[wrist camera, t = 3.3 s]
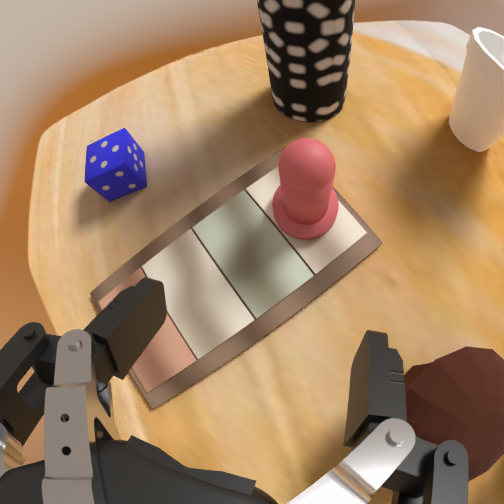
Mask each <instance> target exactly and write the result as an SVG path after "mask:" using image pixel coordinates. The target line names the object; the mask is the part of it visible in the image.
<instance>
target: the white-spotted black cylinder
mask: <svg viewBox="0 0 504 504" xmlns="http://www.w3.org/2000/svg"><path fill="white" fill-rule="evenodd" d="M257 3H258V9H259V15H260V21H261V26H262V32H263V38H264V45H265V51H266V57H267V64H268V70H269V77H270V84H271V91H272V98H273V102H274V104H275V106H276V108H277V109H278V110H279V111H280V112H281V113H283V114H284V115H286V116H288V117H290V118H292V119H296V120H299V121H305V122H317V121H323V120H327V119H329V118H332V117H334V116H335V115H337V114H338V113H339V112H340V111H341V110H342V108H343V106H344V102H345V95H346V87H347V79H348V71H349V62H350V53H351V43H352V32H353V21H354V7H355V0H257Z"/></svg>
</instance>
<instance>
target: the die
mask: <svg viewBox="0 0 504 504" xmlns="http://www.w3.org/2000/svg"><path fill="white" fill-rule="evenodd" d="M85 183H86V184H88V185H89V186H90V187H91V188H93V189H94V190H95V191H96V192H98V193H99V194H100V195H101V196H103V197H104V198H105V199H106V200H108V201H109V202H110V201H112V200H115V199H117V198H120V197H122V196H124V195H127V194H129V193H132V192H134V191H137V190H139V189H142V188H144V187H146V186H147V182H146V170H145V158H144V151H143V150H142V149H141V148H140V146H139V145H138V144H137V143H136V141H135V140H134V139H133V138H132V136H131V135H130V134H129V132H128V131H127V130H126V129H125V128H123V129H121V130H119V131H117V132H115V133H112V134H110V135H108V136H106V137H104V138H102V139H100V140H98V141H96V142H94V143H92V144H90V145H88V146H87V152H86V167H85Z"/></svg>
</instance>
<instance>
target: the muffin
mask: <svg viewBox="0 0 504 504" xmlns="http://www.w3.org/2000/svg"><path fill="white" fill-rule="evenodd" d="M404 384H405V396H406V417H407V423H408V424H409V425H410V426H411V427H412V428H413V430H414V433H415V435H416V436H417V437H418V438H420V439H422V440H425V441H428V442H430V443H433V444H436V445H438V446H439V445H440V444H441V443H443V442H444V441H447V440H455V441H458V442H460V443H461V444H462V445H463V446H464V447H465V449H466V451H467V453H468V481H470V480H472V479H474V478H476V477H478V476H479V475H481V474H483V473H484V472H486V471H488V469H489V468H490V467H491V466H492V465H493V464H494V463H495V462H496V461H497V460H498V459H499V458H500V457H501V456H502V455H503V454H504V359H502V358H501V357H500V356H499V355H498V354H497V353H496V352H495V351H494V350H493V349H484V348H475V347H464V348H462V349H460V350H457V351H455V352H453V353H450V354H448V355H446V356H443V357H441V358H438V359H436V360H435V361H434V362H431V363H428V364H422V365H416V366H412V367H411V369H410V370H409V371H408V372H407V374H406V375H405V376H404Z"/></svg>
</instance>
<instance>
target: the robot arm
mask: <svg viewBox="0 0 504 504" xmlns="http://www.w3.org/2000/svg"><path fill="white" fill-rule="evenodd" d="M166 316H167V306H166V299H165V291H164V285H163V282H161V281H158V280H155V279H151V278H148V277H144V278H142V279H141V280H140V281H139V282H138V283H137V284H136V285H135V286H130V287H128V288H126V289H124V290H122V291H121V292H120V293H119V294H118V295H117V296H116V297H115V298H114V299H113V301H111V302H110V303H109V304H108V305H107V307H105V308H104V309H103V310H102V311H101V312H100V313H99V314H98V315H97V316H96V317H95V318H94V319H93V320H92V321H91V322H90V324H89V325H88V326H87V327H86V328H85V329H84V330H79V329H75V330H71V331H68V332H66V333H65V334H64V335H62V336H56V335H50V334H46V331H45V330H44V327H43V326H42V325H41V324H40V323H36V322H32V323H28V324H26V325H24V326H23V327H22V328H20V329H19V330H18V332H16V334H15V335H14V336H13V337H12V338H11V339H10V340H9V341H8V342H7V343H6V344H5V346H4V347H3V348H2V349H1V350H0V504H278V503H277V502H276V501H275V500H274V499H273V498H272V497H271V496H269V495H268V494H267V493H265V492H264V491H262V490H261V489H259V488H257V487H255V483H256V480H252V479H248V478H244V477H240V476H237V475H233V474H230V473H226V472H223V471H211V470H202V469H194V468H188V467H185V466H184V465H182V464H181V463H179V462H178V461H176V460H175V459H174V458H172V457H171V456H169V455H168V454H167V453H165V452H164V451H162V450H161V449H160V448H158V447H156V446H153V445H151V444H149V443H147V442H145V441H143V440H140V439H138V438H136V437H134V436H132V435H131V437H130V439H129V440H128V441H124V440H121V439H120V436H119V432H118V430H117V427H116V424H115V419H114V411H113V402H112V392H111V383H110V379H111V378H112V377H113V375H114V376H116V377H118V378H120V379H122V380H123V379H124V378H125V376H126V375H127V373H128V372H129V371H130V369H131V368H132V366H133V365H134V364H135V362H136V361H137V360H138V358H139V357H140V355H141V354H142V353H143V351H144V350H145V349H146V347H147V346H148V344H149V343H150V342H151V340H152V339H153V338H154V336H155V335H156V334H157V332H158V331H159V329H160V328H161V327H162V325H163V324H164V322H165V320H166ZM31 366H32V368H33V369H34V371H35V372H34V373H33V375H32V376H31V377H30V378H29V380H28V381H27V382H26V384H25V385H24V386H23V388H22V389H21V390H20V391H19V393H18V392H17V385H18V383H19V381H20V380H21V379H22V378H23V376H24V375H25V374H26V373H27V371H28V370H29V369H30V368H31ZM403 373H404V370H403V360H402V358H401V357H400V355H399V353H398V351H397V349H392V348H388V336H387V334H386V333H382V332H376V331H370V330H367V331H366V333H365V335H364V337H363V340H362V342H361V344H360V346H359V349H358V351H357V353H356V355H355V357H354V360H353V364H352V368H351V377H350V390H349V402H348V412H347V421H346V430H345V438H344V445H343V446H349V447H352V452H351V453H350V454H349V455H348V456H347V457H346V458H345V459H344V460H342V461H341V462H340V463H339V464H338V465H336V466H335V467H333V468H332V469H331V470H330V471H329V472H327V473H326V474H325V475H324V476H323V477H321V478H320V479H319V480H318V481H316V482H315V483H314V484H313V485H311V486H310V487H309V488H307V489H306V490H305V491H303V492H302V493H301V494H299V495H298V496H297V497H295V498H294V499H292V500H291V501H290V502H288V503H287V504H367V503H368V502H369V501H370V500H371V499H372V497H373V496H372V495H373V494H374V493H375V491H376V490H377V489H378V488H379V487H380V486H382V487H385V488H388V489H390V490H393V498H392V504H468V453H467V451H466V449H465V447H464V446H463V445H462V444H461V443H460V442H458V441H455V440H447V441H444V442H443V443H441V444H440V445H439V446H438V445H436V444H433V443H430V442H428V441H425V440H422V439H420V438H418V437H417V436H416V435H415V433H414V430H413V428H412V427H411V426H410V425H409V424H408V423H407V417H406V396H405V384H404V375H403ZM43 415H44V455H45V460H42V461H39V462H35V463H32V464H28V465H24V466H20V467H19V465H22V464H24V462H25V457H24V455H23V454H22V452H23V451H22V447H23V445H24V444H25V442H26V440H27V439H28V437H29V436H30V434H31V433H32V431H33V430H34V428H35V427H36V425H37V424H38V422H39V420H40V419H41V418H42V416H43Z"/></svg>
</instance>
